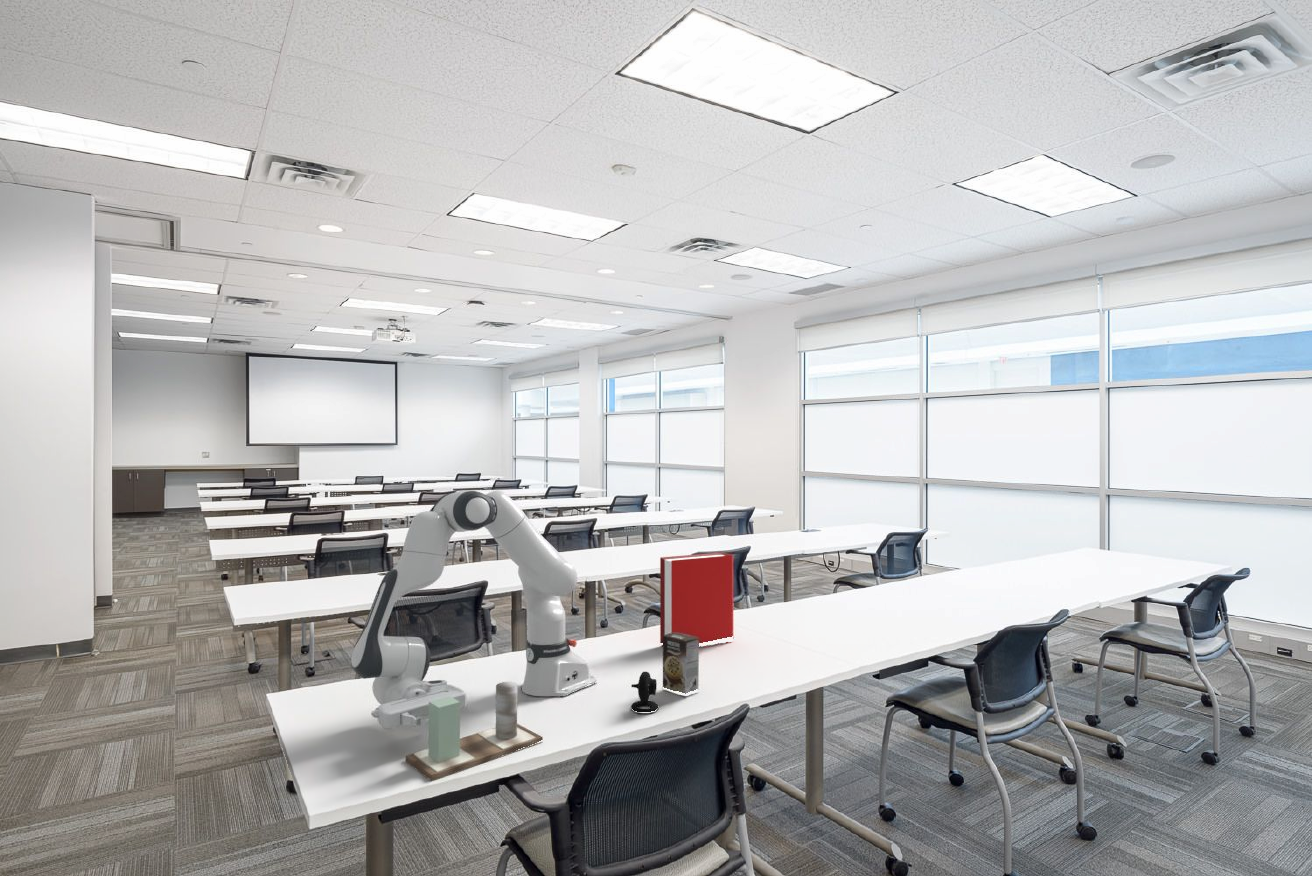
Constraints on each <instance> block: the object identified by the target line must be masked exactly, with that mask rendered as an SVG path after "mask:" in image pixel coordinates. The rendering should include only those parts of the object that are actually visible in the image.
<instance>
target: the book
mask: <svg viewBox="0 0 1312 876" xmlns="http://www.w3.org/2000/svg"><path fill="white" fill-rule="evenodd" d="M659 560H660V561H659V562H660V563H659V564H660V565H659V566H660V567H659V569H660V570H659V571H660V572H659V574H660V575H659V576H660V577H659V578H660V581H659V582H660V583H659V584H660V585H659V587H660V589H659V593H660V596H659V597H660V599H659V600H660V601H659V603H660V604H659V605H660V609H659V612H660V613H659V614H660V615H659V616H660V624H659V625H660V626H659V630H660V631H659V636H660V637H659V638H660V641H659V644H660V643H663V635H666V634H669V633H674V632H679V633H683V634H687V635H691V636H695V637H699V643H703V642H708V641H713V640H717V639H722V638H727V637H732V636H733V637H734V554H732V553H728V552H709V553H697V554H696V553H695V554H685V555H675V556H663V557H660V559H659Z"/></svg>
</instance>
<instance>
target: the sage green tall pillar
mask: <svg viewBox="0 0 1312 876" xmlns="http://www.w3.org/2000/svg"><path fill="white" fill-rule="evenodd" d="M460 724H461V709H460V702H459V701H457V700H456V699H454V698H452V697H450V696H448V697H445V698H441V699H437V700H433V701H429V718H428V738H427V739H428V742H427V743H428V748H427V749H428V756H430V757H431V758H432V759H434V760H435V761H436V762H438V763H440V762H443V761H446V760H449V759H452V758H455V757H458V756H460V738H461V737H460V736H461V735H460V734H461V732H460V731H461V725H460Z"/></svg>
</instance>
